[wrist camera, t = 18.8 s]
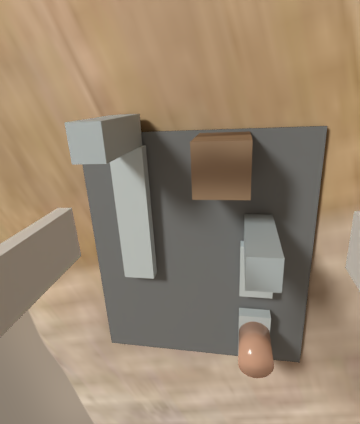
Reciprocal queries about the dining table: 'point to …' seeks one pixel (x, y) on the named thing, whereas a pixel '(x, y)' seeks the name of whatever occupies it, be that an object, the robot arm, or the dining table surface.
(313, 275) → the dining table surface
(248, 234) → the broken strip
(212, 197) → the block
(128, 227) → the grey stepped bracket
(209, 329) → the mat
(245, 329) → the peach egg shape
